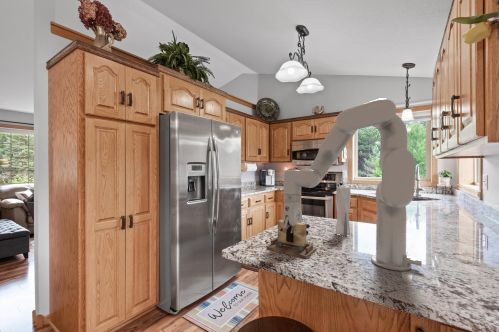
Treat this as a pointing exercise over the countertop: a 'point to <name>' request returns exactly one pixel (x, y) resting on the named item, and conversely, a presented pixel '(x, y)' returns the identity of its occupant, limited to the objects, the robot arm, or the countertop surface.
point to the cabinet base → (292, 248)
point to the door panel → (298, 234)
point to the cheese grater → (343, 209)
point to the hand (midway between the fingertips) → (291, 240)
